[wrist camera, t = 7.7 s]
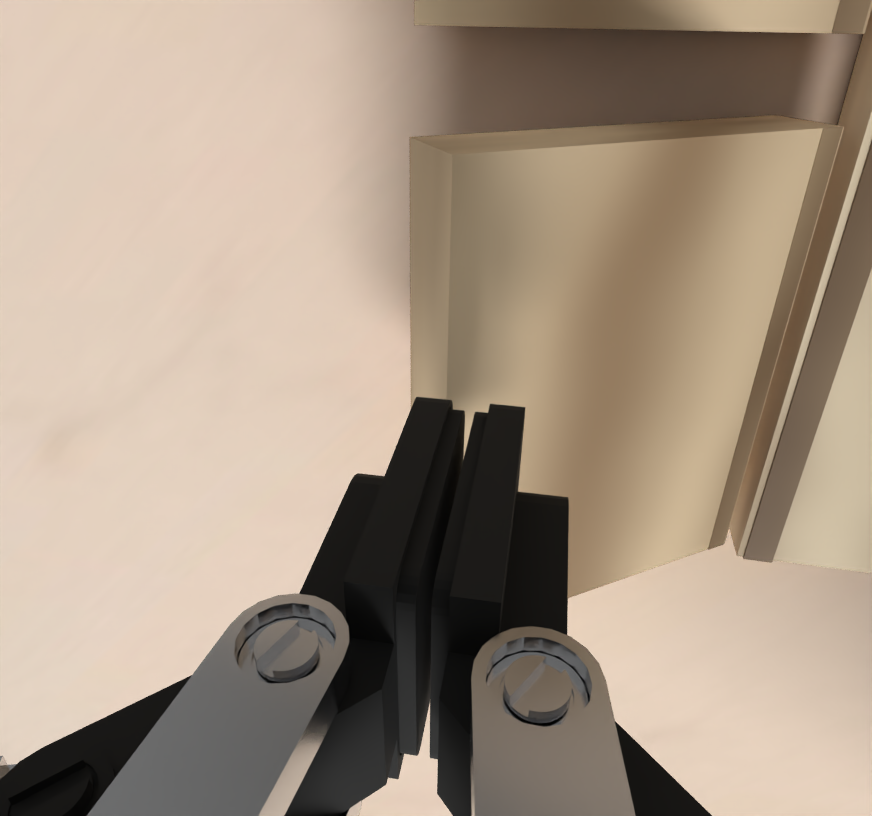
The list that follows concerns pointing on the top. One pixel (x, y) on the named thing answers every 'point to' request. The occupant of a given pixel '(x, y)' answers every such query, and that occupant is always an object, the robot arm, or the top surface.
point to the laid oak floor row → (822, 379)
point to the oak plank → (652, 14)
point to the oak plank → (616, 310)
